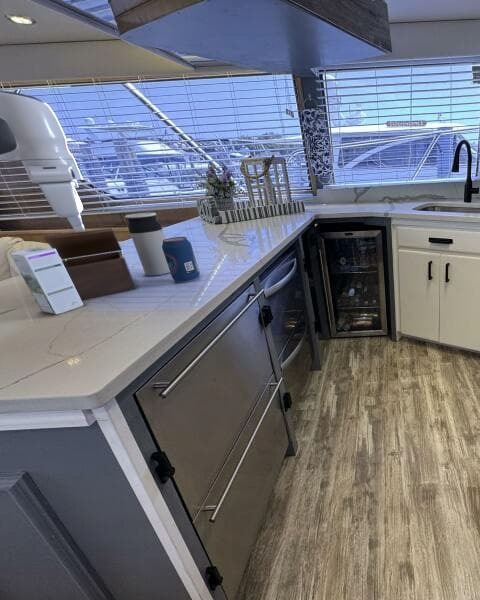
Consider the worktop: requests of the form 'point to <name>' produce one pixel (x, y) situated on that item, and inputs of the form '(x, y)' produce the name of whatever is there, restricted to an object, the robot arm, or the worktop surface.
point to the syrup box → (47, 280)
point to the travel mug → (148, 242)
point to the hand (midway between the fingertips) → (80, 232)
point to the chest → (99, 274)
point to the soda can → (180, 259)
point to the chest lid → (84, 243)
